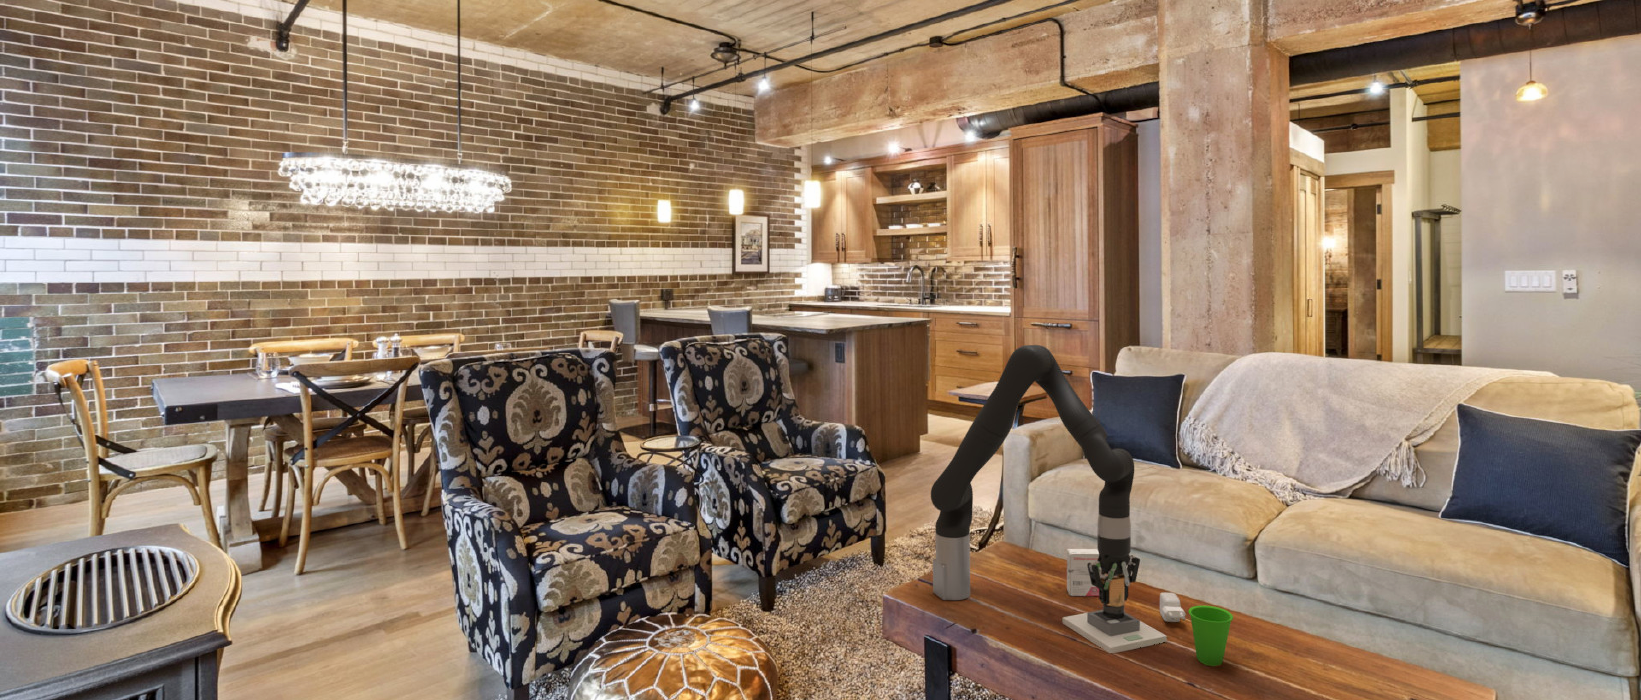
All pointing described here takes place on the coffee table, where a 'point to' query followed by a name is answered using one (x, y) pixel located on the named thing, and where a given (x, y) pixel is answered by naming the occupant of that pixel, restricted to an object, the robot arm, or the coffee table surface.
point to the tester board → (1114, 631)
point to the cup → (1210, 633)
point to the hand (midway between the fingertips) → (1113, 601)
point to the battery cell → (1115, 598)
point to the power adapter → (1171, 607)
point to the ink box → (1080, 572)
